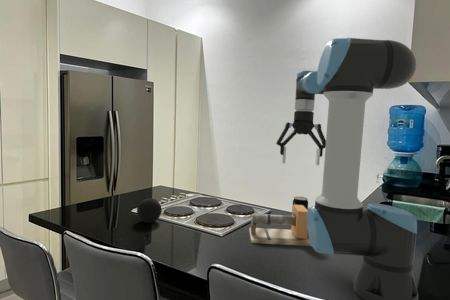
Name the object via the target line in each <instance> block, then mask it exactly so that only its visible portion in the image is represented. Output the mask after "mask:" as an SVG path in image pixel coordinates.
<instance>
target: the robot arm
mask: <svg viewBox="0 0 450 300" xmlns="http://www.w3.org/2000/svg"><path fill="white" fill-rule="evenodd" d="M414 54H415V53H414V52H413V51H412V49H410V48H409V47H408V46H407V45H406V44H403V43H402V42H400V41H395V40H390V39H371V38H370V39H367V38H356V37H354V38H353V37H345V38H344V37H343V38H337V37H336V38H333V39H331V40H330V41H328V42H327V43H326V45H325V46H324V49H323V50H322V53H321V55H320V59H319V63H318V66H317V71H313V70H300V71H298V72H297V74H296V79H295V82H296V84H295V97H294V98H295V101H294V113H293V122H289V121H288V122H287V121H286V122H285V125H284V129H283V130H282V132H281V134H280V135H279V137H278V139H277V140H276V142H275V144H276V145H278V146H279V147H280V151H279V152H280V153H279V154H280V155H281V156H282V158H281V163H282V164H286V158H287V157H286V155H287V147H286V145H287V144H288V143H289V142H290V141H291V140H292V139H293V138H294V137H295V136H296V135H306V136H307V135H308V136H309V137H310V138H311V139H312V141H313V142H314V144H316V146H317V148H316V152H315V165H316V166H320V158H322V157H323V152H324V160H323V162H324V163H323V174H322V175H323V176H322V188H321V194H320V195H318V196H317V197H316V198H315V200H314V201H315V203H314V206H313V205H311V206H310V207H309V206H308V210H307V211H308V212H307V229H308V235H309V239H310V242H311V245H312V246H311V247H312V249H314V251H315V252H317V253H319V254H325V255H326V254H327V255H331V256H334V255H335V256H336V255H338V256H357V257H358V256H359V257H360V256H361V257H362V262H361V265H360V266H359V267H358V271H357V272H356V275H355V277H354V279H353V291H354V293H355V292H356V293H355V294H356V295H357V296H359V298H361V299H362V300H419V292H418V288H417V284H416V281H415V277H414V276H415V275H414V273H413V272H414V271H413V270H414V260H415V253H416V252H415V250H416V243H417V241H416V240H417V235H418V219H417V218H416V216H415V215H414V214H413V213H411V212H409V211H407V210H405V209H402V208H399V207H395V206H391V205H387V204H383V203H382V204H381V203H375V202H371V203H370V202H369V203H368V204H367V206H366V209H364V204H363V202H361V200H360V199H359V198H358V194H359V193H358V191H359V182H360V181H359V180H360V170H361V169H360V168H361V159H362V146H363V133H364V122H365V112H366V111H365V109H366V102H367V101H368V100H369V99H371V97H373V94H374V90H376V89H377V90H379V89H381V90H384V89H385V90H390V89H396V88H400V87H402V86H404V85H406V84H407V83H408V82H409V81H411V79H412V78H413V76H414V75H415V73H416V69H417V60H416V59H417V58H416V57H415V55H414ZM316 95H323V96H324V97H325V98H326V99H327V100H328V108H327V109H328V111H327V120H326V121H327V122H326V123H327V124H326V137H325V135H324V133H323V130H322V124H321V123H316V124H314V117H315V116H314V115H315V114H314V110H315V99H316V98H315V97H316ZM290 128H293V129H294V130H292V131H291V133H289V134H288V136H287V137H286V138H285V136H286V134H287V133H288V131H289V129H290ZM313 129H314V130H316V132H317V135H318V138H319V139H320V140H319V139H318V138H317V136H316V135H315V134H314V132H313ZM284 138H285V139H284ZM323 150H324V151H323Z"/></svg>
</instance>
